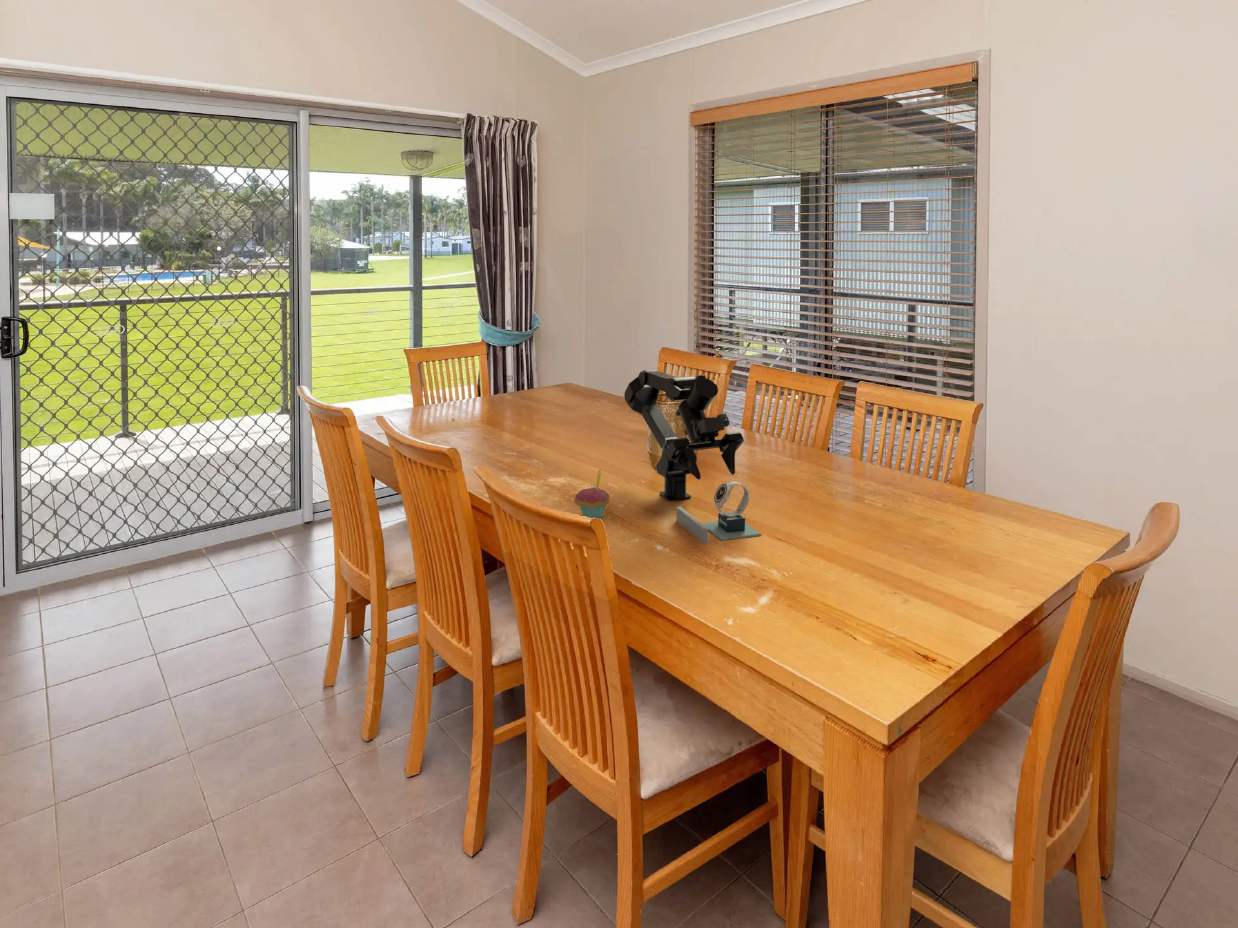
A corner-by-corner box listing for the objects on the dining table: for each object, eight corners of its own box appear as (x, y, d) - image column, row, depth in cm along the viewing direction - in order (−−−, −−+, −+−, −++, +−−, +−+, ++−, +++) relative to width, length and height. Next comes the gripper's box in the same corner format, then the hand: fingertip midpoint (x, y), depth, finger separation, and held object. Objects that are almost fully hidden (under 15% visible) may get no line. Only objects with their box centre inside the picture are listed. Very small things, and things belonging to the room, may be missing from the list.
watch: (710, 525, 194) (711, 480, 191) (741, 522, 196) (743, 477, 193) (719, 533, 189) (720, 487, 186) (752, 530, 191) (753, 484, 188)
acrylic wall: (676, 520, 198) (676, 507, 197) (680, 520, 199) (680, 506, 198) (703, 543, 184) (704, 528, 183) (707, 543, 184) (708, 528, 183)
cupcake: (609, 510, 206) (609, 464, 203) (610, 521, 198) (610, 473, 195) (575, 511, 206) (574, 464, 203) (574, 522, 198) (573, 474, 195)
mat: (701, 524, 196) (701, 523, 196) (739, 520, 199) (739, 518, 199) (721, 540, 186) (721, 538, 185) (761, 535, 189) (761, 533, 188)
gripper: (672, 406, 192) (693, 463, 185) (741, 399, 199) (764, 454, 192) (657, 431, 201) (677, 487, 194) (723, 424, 208) (745, 478, 201)
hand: (716, 476), depth 195 cm, fingers open, 9 cm apart
